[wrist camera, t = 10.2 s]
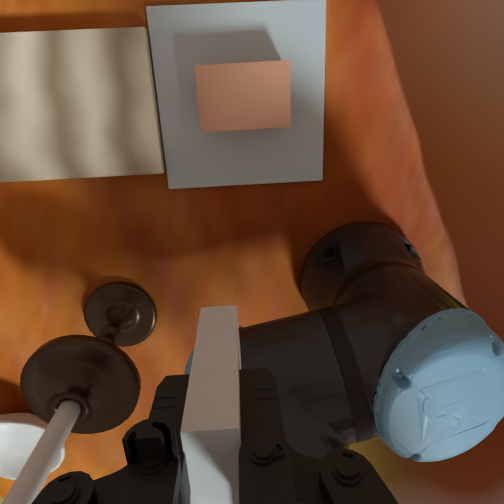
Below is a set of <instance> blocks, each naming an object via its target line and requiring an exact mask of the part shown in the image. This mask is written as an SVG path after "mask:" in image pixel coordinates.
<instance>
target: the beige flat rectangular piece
mask: <svg viewBox="0 0 504 504" xmlns="http://www.w3.org/2000/svg"><path fill="white" fill-rule="evenodd" d="M165 171H166V168H165V160H164V153H163V145H162V137H161V129H160V121H159V113H158V105H157V98H156V90H155V82H154V74H153V66H152V58H151V50H150V43H149V35H148V30H147V29H146V28H144V27H125V28H102V29H79V30H55V31H32V32H9V33H0V182H18V181H36V180H54V179H72V178H90V177H108V176H126V175H144V174H162V173H164V172H165Z"/></svg>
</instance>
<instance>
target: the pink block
mask: <svg viewBox="0 0 504 504" xmlns="http://www.w3.org/2000/svg"><path fill="white" fill-rule="evenodd" d="M194 68H195V78H196V88H197V97H198V107H199V117H200V127H201V133H202V132H217V131H233V130H249V129H265V128H281V127H291V98H290V60H280V61H263V62H246V63H229V64H212V65H195V66H194Z"/></svg>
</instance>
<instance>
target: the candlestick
mask: <svg viewBox="0 0 504 504" xmlns="http://www.w3.org/2000/svg"><path fill="white" fill-rule="evenodd" d="M84 318H85V322H86V324H87V326H88V328H89V330H90V331H91V332H92V333H93V334H94V335H95V336H96V337H92V336H86V335H68V336H62V337H58V338H55V339H53V340H50V341H48V342H47V343H45V344H43V345H42V346H40V347H39V348H38V349H37V350H36V351H35V352H34V353H33V354H32V356H31V357H30V358H29V359H28V361H27V362H26V364H25V366H24V367H23V370H22V373H21V378H20V387H21V392H22V395H23V397H24V400H25V402H26V404H27V405H28V406H29V408H30V409H31V410H32V412H34V413H35V414H36V415H37V416H38V417H39V418H40V419H42V420H43V421H45V422H46V423H48V426H47V428H46V429H45V431H44V433H43V434H42V436H41V438H40V439H39V441H38V443H37V445H36V446H35V448H34V450H33V451H32V453H31V455H30V456H29V458H28V460H27V462H26V463H25V465H24V467H23V468H22V470H21V472H20V473H19V475H18V477H17V479H16V480H15V482H14V484H13V485H12V487H11V489H10V491H9V492H8V494H7V496H6V497H5V499H4V501H3V502H2V504H31V503H32V502H33V501H34V499H35V498H36V497H37V495H38V494H39V493H40V491H41V489H42V487H43V485H44V483H45V481H46V479H47V477H48V475H49V473H50V471H51V469H52V467H53V465H54V463H55V461H56V459H57V457H58V455H59V453H60V451H61V449H62V447H63V446H64V444H65V442H66V440H67V438H68V436H69V434H70V432H72V433H79V434H93V433H99V432H104V431H107V430H110V429H113V428H115V427H116V426H118V425H120V424H122V423H123V422H124V421H125V420H126V419H128V417H129V416H130V415H131V414H132V412H133V411H134V409H135V407H136V404H137V402H138V399H139V396H140V390H141V380H140V376H139V372H138V369H137V368H136V366H135V364H134V363H133V361H132V360H131V359H130V358H129V356H128V355H127V354H126V353H125V352H123V351H122V350H121V349H120V348H118V347H117V346H132V345H135V344H138V343H140V342H142V341H144V340H145V339H146V338H147V337H149V335H150V334H151V333H152V331H153V329H154V327H155V324H156V320H157V310H156V306H155V304H154V302H153V300H152V298H151V297H150V296H149V295H148V294H147V293H146V292H145V291H144V290H143V289H141V288H139V287H138V286H135V285H133V284H130V283H125V282H113V283H108V284H105V285H102V286H101V287H99V288H97V289H96V290H95V291H94V292H93V293H92V294H91V296H90V297H89V299H88V300H87V302H86V305H85V308H84Z"/></svg>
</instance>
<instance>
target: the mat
mask: <svg viewBox="0 0 504 504" xmlns="http://www.w3.org/2000/svg"><path fill="white" fill-rule="evenodd" d="M146 12H147V20H148V28H149V35H150V43H151V51H152V59H153V67H154V75H155V83H156V91H157V99H158V107H159V114H160V122H161V130H162V138H163V146H164V154H165V162H166V170H167V178H168V186H169V189H179V188H196V187H214V186H232V185H249V184H267V183H285V182H302V181H320V180H323V135H324V84H325V32H326V0H283V1H259V2H235V3H211V4H187V5H163V6H146ZM280 60H290V98H291V127H281V128H265V129H249V130H233V131H217V132H202V133H201V127H200V117H199V107H198V97H197V88H196V78H195V68H194V66H195V65H212V64H229V63H246V62H263V61H280Z"/></svg>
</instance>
